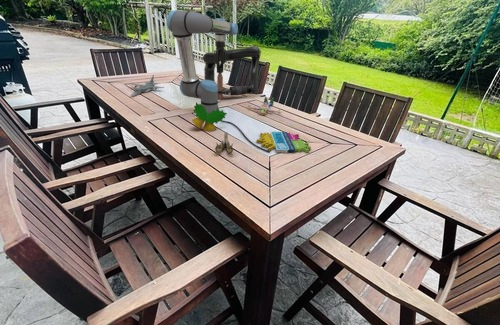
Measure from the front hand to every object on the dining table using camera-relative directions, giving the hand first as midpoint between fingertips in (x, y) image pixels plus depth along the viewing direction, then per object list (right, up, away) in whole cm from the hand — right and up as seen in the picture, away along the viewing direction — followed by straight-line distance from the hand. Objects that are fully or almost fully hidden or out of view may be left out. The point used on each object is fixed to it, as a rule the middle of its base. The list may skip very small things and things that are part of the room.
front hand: (220, 72), depth 214 cm
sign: (+43, -63, -61) cm, 98 cm away
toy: (+37, -33, -9) cm, 50 cm away
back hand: (-3, -14, +7) cm, 16 cm away
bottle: (-1, -19, +11) cm, 22 cm away
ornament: (-1, -53, -49) cm, 72 cm away
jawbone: (+11, -68, -75) cm, 102 cm away
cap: (0, +2, -1) cm, 2 cm away
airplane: (-67, -11, +16) cm, 70 cm away
